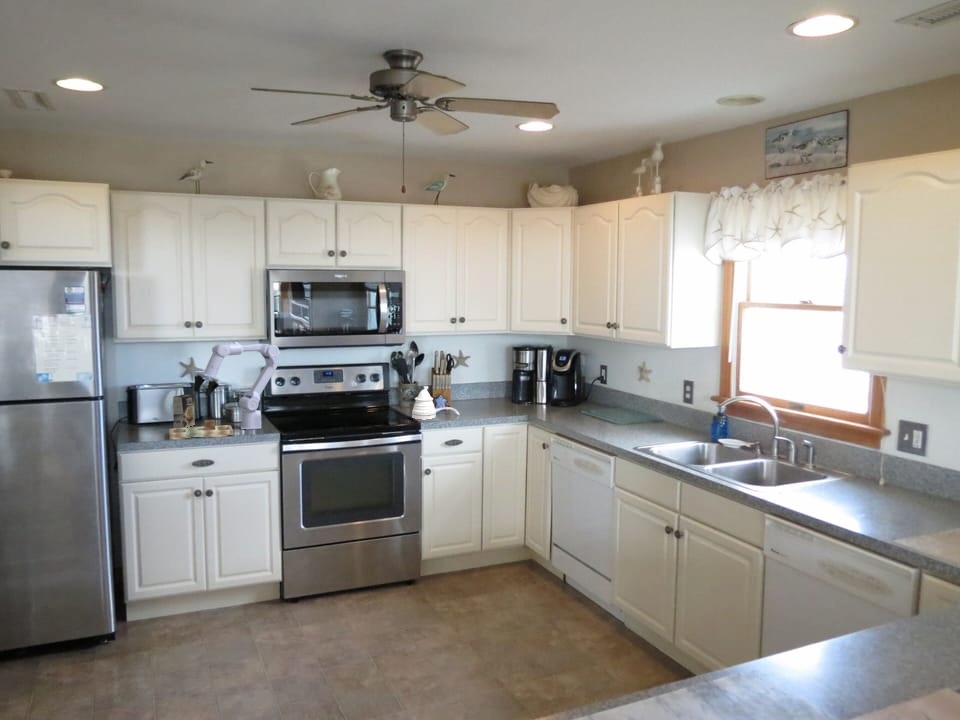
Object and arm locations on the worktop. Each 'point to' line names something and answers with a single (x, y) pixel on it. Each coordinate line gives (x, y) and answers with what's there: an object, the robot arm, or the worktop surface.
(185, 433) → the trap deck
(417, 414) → the honey pot
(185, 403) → the coffee box
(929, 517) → the worktop surface
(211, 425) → the walnut block
